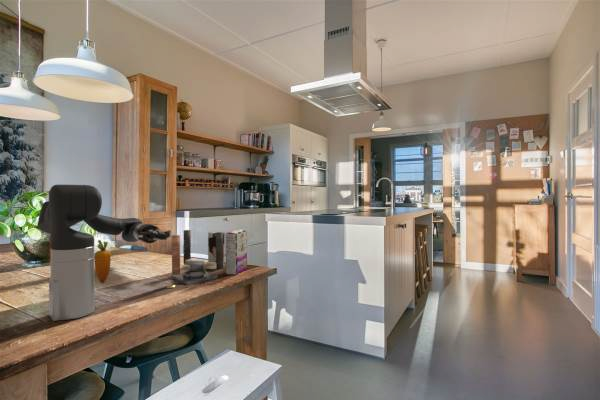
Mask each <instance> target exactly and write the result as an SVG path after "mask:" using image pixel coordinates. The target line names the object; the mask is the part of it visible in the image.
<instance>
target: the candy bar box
mask: <svg viewBox="0 0 600 400" xmlns="http://www.w3.org/2000/svg"><path fill="white" fill-rule="evenodd" d="M247 232H248V231H247V229H234V230H230V231H228V232H225V274H226V275H228V276H229V275H233V276H235V275H236V276H237V275H240V273H242V272H244V271H246V270H247V269H248V244H247V243H248V241H247V239H248V235H247V234H248V233H247Z"/></svg>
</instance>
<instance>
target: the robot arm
mask: <svg viewBox="0 0 600 400" xmlns="http://www.w3.org/2000/svg"><path fill="white" fill-rule="evenodd" d="M102 203H103V198H102V194H101V193H100V190H99V189H98V188H96V187H95V186H93V185H89V184H53V185H51V187H50V189H49V193H48V201H45V202H43V203H42V205H41V207H40V212H39V216H38V219H37V228H38V230H40V231H42V232H44V233H47V234H50V277H49V278H48V301H49V302H48V305H49V306H48V310H49V311H48V312H49V313H48V314H49V317H50V319H51V320H52V321H53V322H55V321H65V320H67V321H68V320H72V319H73V320H74V319H78V318H79V319H80V318H82V317H86V316H88V315H91V314H92V313H94V312H95V308H96V306H95V304H96V300H95V299H96V297H95V293H96V292H95V284H96V283H95V279H96V278H95V258H94V255H95V236H94V235H93V234H91V233H87V232H82V231H78V230H76V229H74V228H72V227H73V226H76V225H77V224H78V223H81V222H84V223H86V224H87V226H89V228H91V229H92V230H94V231H95V232H97V233H100V234H105V235H110V236H119V235H121V239H122V240H124V241H125V242H129V243H133V242H134V243H135V242H139V241H140V242H141V243H146V244H154V243H155V242H156V241H158V240H161V241H165V240H167V239H169V238H172V230H170V229H169V230H165V231H163V230H161V229H160V228H159V227H158V226H157V225H155V224H152V223H147V222H146V223H143V221H142V220H141V219H139V218H137V217H130V218H129V217H128V218H116V217H113V216H112V217H111V216H108V215H107V216H106V215H102V214H100V211H101V209H102V205H103V204H102Z"/></svg>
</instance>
